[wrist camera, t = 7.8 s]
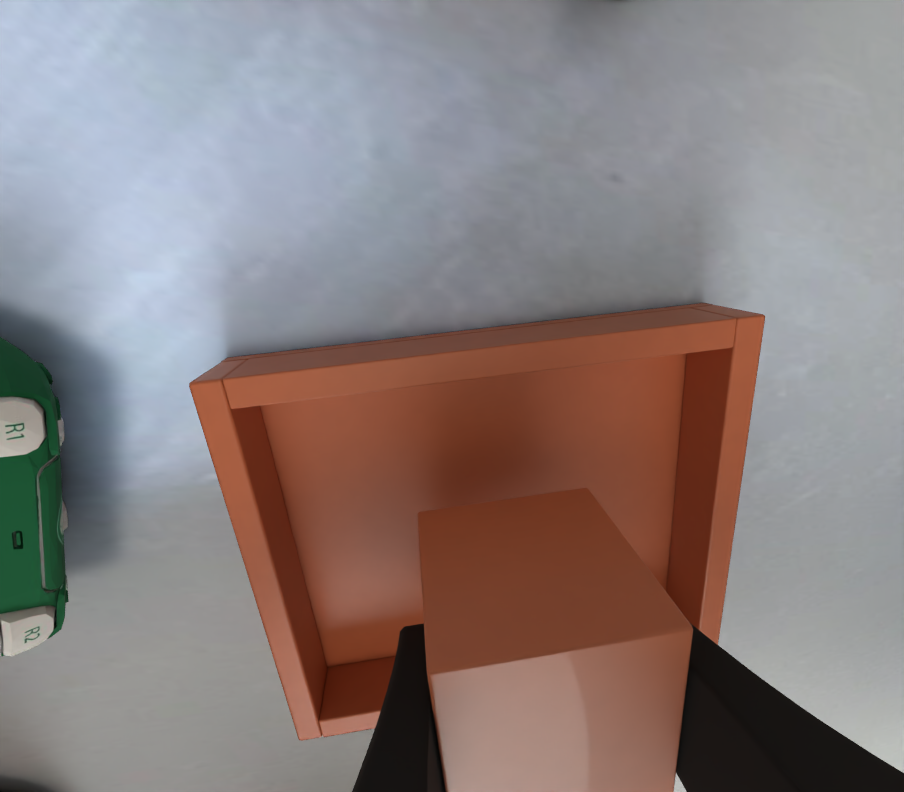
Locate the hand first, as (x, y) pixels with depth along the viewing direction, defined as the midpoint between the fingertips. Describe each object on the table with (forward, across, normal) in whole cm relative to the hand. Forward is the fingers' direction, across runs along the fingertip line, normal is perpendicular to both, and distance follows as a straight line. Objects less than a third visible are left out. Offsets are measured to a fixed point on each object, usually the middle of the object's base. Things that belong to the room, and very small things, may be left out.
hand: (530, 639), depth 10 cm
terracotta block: (+2, 0, 0) cm, 2 cm away
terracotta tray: (+6, 0, 0) cm, 6 cm away
